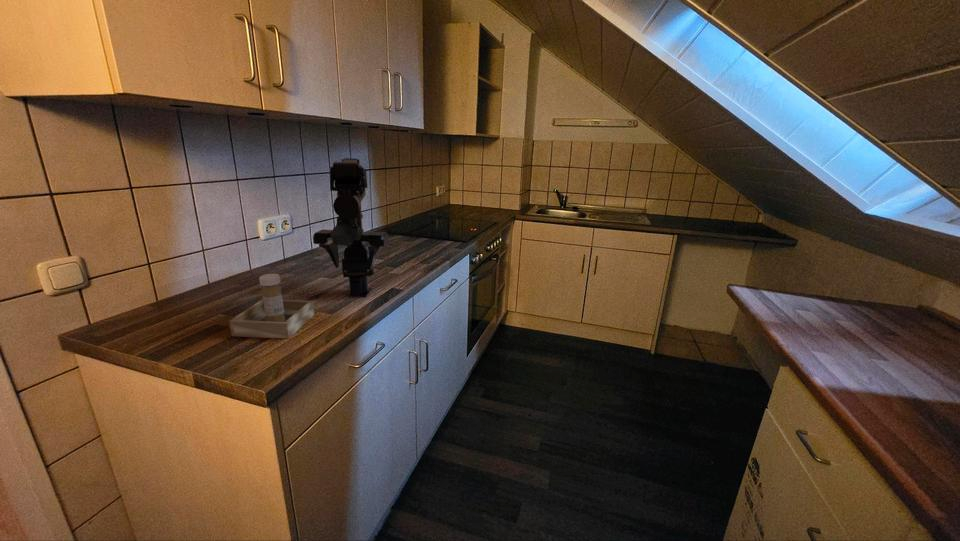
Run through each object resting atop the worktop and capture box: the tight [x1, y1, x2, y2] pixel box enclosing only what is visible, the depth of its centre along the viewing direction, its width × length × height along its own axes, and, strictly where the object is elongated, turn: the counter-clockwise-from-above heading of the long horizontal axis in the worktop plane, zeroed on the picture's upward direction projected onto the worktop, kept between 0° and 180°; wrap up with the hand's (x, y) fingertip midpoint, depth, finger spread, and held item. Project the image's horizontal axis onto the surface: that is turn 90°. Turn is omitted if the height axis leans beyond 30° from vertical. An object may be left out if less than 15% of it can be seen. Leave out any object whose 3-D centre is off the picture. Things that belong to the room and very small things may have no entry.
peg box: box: [228, 298, 315, 339], centre depth 97 cm, size 14×14×4 cm
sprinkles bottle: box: [258, 273, 287, 322], centre depth 96 cm, size 5×5×14 cm
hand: (353, 268), depth 103 cm, fingers open, 9 cm apart
